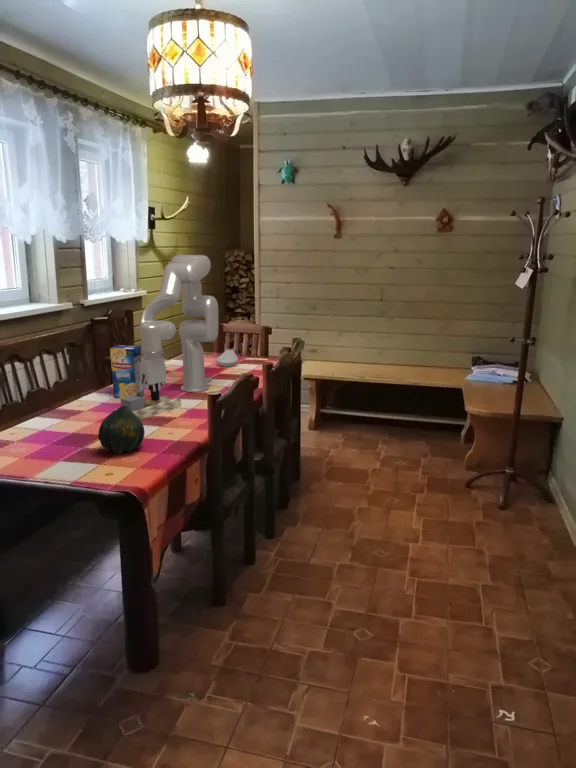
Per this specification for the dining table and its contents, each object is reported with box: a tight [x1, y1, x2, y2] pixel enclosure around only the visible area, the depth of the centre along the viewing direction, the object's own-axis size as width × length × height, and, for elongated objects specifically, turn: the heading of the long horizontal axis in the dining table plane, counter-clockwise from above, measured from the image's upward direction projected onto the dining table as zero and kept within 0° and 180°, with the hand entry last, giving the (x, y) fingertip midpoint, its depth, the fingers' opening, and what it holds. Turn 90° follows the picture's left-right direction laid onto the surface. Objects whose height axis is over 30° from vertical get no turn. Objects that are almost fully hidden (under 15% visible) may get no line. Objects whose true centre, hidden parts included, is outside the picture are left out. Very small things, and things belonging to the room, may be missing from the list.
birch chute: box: [113, 394, 182, 420], centre depth 240 cm, size 26×9×4 cm, turn 143°
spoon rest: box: [215, 348, 239, 368], centre depth 329 cm, size 24×12×7 cm, turn 178°
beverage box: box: [109, 344, 145, 399], centre depth 262 cm, size 7×11×22 cm, turn 75°
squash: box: [97, 406, 146, 455], centre depth 199 cm, size 14×15×15 cm
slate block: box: [120, 396, 144, 412], centre depth 234 cm, size 6×6×6 cm
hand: (155, 399), depth 243 cm, fingers closed
